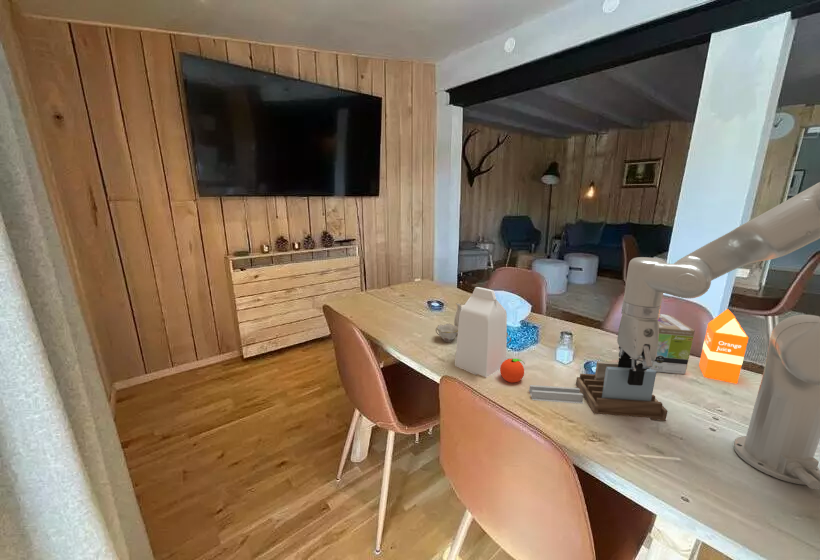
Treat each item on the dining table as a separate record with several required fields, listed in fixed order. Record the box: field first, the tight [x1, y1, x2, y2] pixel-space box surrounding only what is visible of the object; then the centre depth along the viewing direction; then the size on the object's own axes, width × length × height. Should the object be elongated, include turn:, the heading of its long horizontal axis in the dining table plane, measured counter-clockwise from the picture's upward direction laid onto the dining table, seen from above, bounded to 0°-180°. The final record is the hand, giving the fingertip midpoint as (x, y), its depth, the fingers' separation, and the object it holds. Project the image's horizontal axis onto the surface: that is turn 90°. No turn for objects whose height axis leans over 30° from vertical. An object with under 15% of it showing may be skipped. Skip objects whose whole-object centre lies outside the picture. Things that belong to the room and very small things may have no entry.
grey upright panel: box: [602, 367, 657, 401], centre depth 87 cm, size 1×11×11 cm, turn 83°
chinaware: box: [435, 302, 512, 345], centre depth 131 cm, size 28×17×17 cm, turn 79°
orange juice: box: [698, 308, 749, 384], centre depth 104 cm, size 8×9×20 cm
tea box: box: [638, 313, 695, 375], centre depth 113 cm, size 15×10×15 cm
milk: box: [454, 286, 508, 378], centre depth 109 cm, size 12×12×26 cm
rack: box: [575, 360, 668, 422], centre depth 92 cm, size 14×17×9 cm
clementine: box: [499, 358, 526, 384], centre depth 103 cm, size 8×7×7 cm
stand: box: [528, 384, 584, 405], centre depth 94 cm, size 5×13×3 cm, turn 82°
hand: (629, 377), depth 87 cm, fingers open, 4 cm apart
